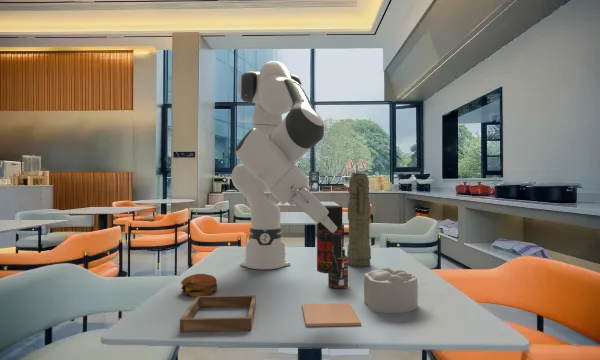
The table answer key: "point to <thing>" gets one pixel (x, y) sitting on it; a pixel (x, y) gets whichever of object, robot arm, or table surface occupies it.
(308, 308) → the coaster
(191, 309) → the corral
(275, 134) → the robot arm
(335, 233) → the deodorant
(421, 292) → the table surface
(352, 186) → the olive green pillar
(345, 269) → the supplement bottle
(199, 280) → the burger
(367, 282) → the lumpy-topped squat cylinder
